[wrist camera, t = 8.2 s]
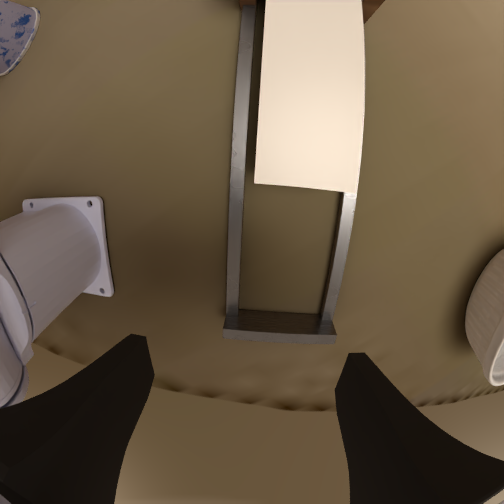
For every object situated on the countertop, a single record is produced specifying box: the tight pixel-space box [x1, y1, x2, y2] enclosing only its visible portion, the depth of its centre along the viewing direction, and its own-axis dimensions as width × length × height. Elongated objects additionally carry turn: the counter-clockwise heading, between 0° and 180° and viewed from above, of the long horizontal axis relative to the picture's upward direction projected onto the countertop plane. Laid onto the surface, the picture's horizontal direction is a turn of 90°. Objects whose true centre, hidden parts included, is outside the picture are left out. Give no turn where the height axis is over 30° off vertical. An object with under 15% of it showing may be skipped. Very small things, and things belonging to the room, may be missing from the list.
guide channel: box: [223, 5, 365, 344], centre depth 15 cm, size 8×22×2 cm, turn 177°
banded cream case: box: [254, 0, 365, 194], centre depth 11 cm, size 5×14×5 cm, turn 177°
